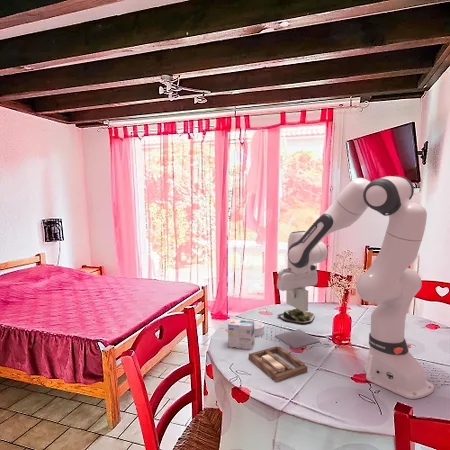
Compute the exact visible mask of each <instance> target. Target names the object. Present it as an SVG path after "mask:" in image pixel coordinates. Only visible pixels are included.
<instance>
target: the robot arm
mask: <svg viewBox="0 0 450 450" xmlns="http://www.w3.org/2000/svg"><path fill="white" fill-rule="evenodd" d="M414 192H415V188H414V184H413V182H412V181H411V180H410V179H408V178H407V177H406V176H405V177H404V176H401V175H394V176H391V175H388V176H387V175H386V176H384V177H379V178H375V179H374V180H372V181H370V180H368V179H366V178H365V177H364V178H363V177H356V178H353V180H351V181H350V182H349V183H348V184H347V185H346V186H345V187H344V188H342V190H341V191H340V192H339V194H338V195H337V196H336V198H335V199H334V200H333V201H332V203H331V204H330V205H329V206H328V208H327V209H326V210H325V211H324V212H323V213H322V214H321V215H320V216H319V217H318V218H317V219H316V220H315V221H314V222H313V223H312V225H311V226H310V227H309V228H308V229H307V230H298V231H292V232H291V233H289V236H288V239H287V268H282V269H281V270H280V271H279V272H277V281H276V288H277V289H278V291H281V292H284V291H287V290H289V291H290V293H291V298H296V294H294V292H293V291H294V289H296V288H303V289H305V290H306V287H311V286H316V285H317V283H318V271H317V270H318V266H317V265H315V264H319V263H323V262H325V261H326V260H327V259H328V255H329V250H328V246H327V245H326V243H325V242H324V241H323V239H324V238H325V237H326V236H328V235H329V234H332V233H334V232H337V231H339V230H342V229H346V228H348V227H351V226H353V224H355V223H356V222H357V221H358V220H359V219H360V217H362V215H363V214H364V213H365V211H366V210H367V209H368V208H370V209H372V210H374V211H376V212H378V213H379V214H381V215H383V217H384V216H385V217H387V216H388V224H387V227H386V231H385V234H384V237H383V240H382V245H381V246H380V250H379V252H378V254H377V256H376V257H375V258H374V260H373V261H372V263H371V265H370V266H369V267H368V268H367V269H366V271H365V272H364V273H362V274H361V275H359V277H358V278H357V279H356V281H355V283H356V284H355V289H356V292H357V294H358V296H359V297H360V298H361V300H363V301H365V302H367V303H375V304H377V306H375V308H374V309H373V310H372V312H371V314H370V332H369V333H368V345H369V349H368V355H367V360H366V363H365V365H364V372H365V374H366V375H365V379H366V381H368V382H371V383H372V384H375V385H378V386H380V387H382V388H384V389H386V390H389V392H392V393H395V394H397V395H399V396H401V397H404V398H406V399H410V400H411V399H412V400H415V399H416V400H417V399H421V398H424V397H427V396H429V395H431V394H432V393H434V390H435V387H434V384H433V383H432V382H430V381H429V380H427V373H426V370H425V368H424V367H423V366H422V364H420V362H419V361H418V360H417V359H416V358H415V357H414V356H413V355H412V353H411V352H410V351H409V349H410V348H412V343H411V344H407V340H406V338H405V330H406V329H405V328H406V320H407V319H406V318H407V315H408V312H409V308H410V306H411V304H412V302H413V299H414V297H415V296H416V295H417V294H418V293H419V291H420V290H421V288H422V283H423V281H422V278H421V276H420V274H419V273H418V272H417V271H416V270H415V269H413V268H409V267H410V266H411V265H412V264H413V263H414V262H415V261H416V259H417V256H418V254H419V250H420V247H421V244H422V241H423V238H424V234H425V231H426V225H427V217H428V215H427V210H426V208H425V207H424V206H423V205H421V204H419V203H418V202H413V201H412V198H413V196H414Z"/></svg>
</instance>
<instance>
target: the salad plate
mask: <svg viewBox="0 0 450 450" xmlns="http://www.w3.org/2000/svg"><path fill="white" fill-rule="evenodd" d="M276 316H277V317H279V318H280V319H281V320H282V321H283V322H286V323H290V324H296V325H303V326H304V325H308V324H309V325H310V324H311V323H312V322H313V320H314V319H315V313H313V312H311V311H305V312H303V311H301V310H299V309H297V308H293V309H285V310H284V312H283V313H279V314H277V315H276Z"/></svg>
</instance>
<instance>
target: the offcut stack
mask: <svg viewBox="0 0 450 450" xmlns="http://www.w3.org/2000/svg"><path fill="white" fill-rule="evenodd" d="M261 360H263V361H264V362H265V363H266V364H268V365H269V366H270V367H271V368H273V369H274V370H275V371H276V372H278V373H281V372H284V370H285V367H284V366H283V365H282V364H280V363H279V362H278V361H276V360H275V359H274V358H272V357H271V356H270V355H268V354H267V355H264V356H262V357H261Z"/></svg>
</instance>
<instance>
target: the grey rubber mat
mask: <svg viewBox="0 0 450 450" xmlns="http://www.w3.org/2000/svg"><path fill="white" fill-rule="evenodd" d="M275 338H277V339H278V340H280V341H281V342H283V343H285V345H288V346H289V347H291V348H292V349H294V350H297V349H301V348H304V347H307V346H310V345H311V346H312V345H313V344H317V343H320V340H319V339H317V338H315V337H314V336H312V335H310V334H308V333H307V332H305V331H303V330H302V329H296V330H291V331H287V332H283V333H279V334H276V335H275Z"/></svg>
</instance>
